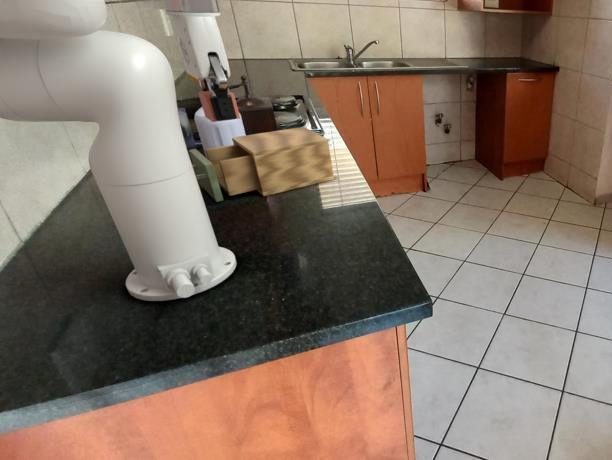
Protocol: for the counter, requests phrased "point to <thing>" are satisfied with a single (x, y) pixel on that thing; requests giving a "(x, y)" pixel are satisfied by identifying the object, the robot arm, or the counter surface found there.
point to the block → (207, 105)
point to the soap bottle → (216, 129)
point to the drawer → (225, 170)
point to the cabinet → (288, 159)
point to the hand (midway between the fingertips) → (222, 115)
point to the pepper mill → (255, 112)
